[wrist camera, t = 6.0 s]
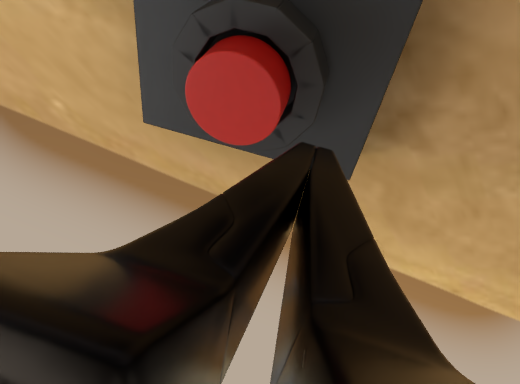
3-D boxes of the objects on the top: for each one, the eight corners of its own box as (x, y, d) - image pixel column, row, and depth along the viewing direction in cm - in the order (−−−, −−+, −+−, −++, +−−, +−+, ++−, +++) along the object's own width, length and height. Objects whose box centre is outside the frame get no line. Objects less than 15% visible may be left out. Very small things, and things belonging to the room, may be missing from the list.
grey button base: (422, -22, 16) (430, 2, 13) (352, 155, 23) (347, 200, 20) (155, -80, 18) (102, -72, 14) (162, 103, 24) (127, 137, 21)
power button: (300, 47, 16) (290, 66, 14) (281, 133, 19) (271, 156, 17) (204, 24, 16) (184, 39, 15) (200, 111, 19) (184, 132, 17)
